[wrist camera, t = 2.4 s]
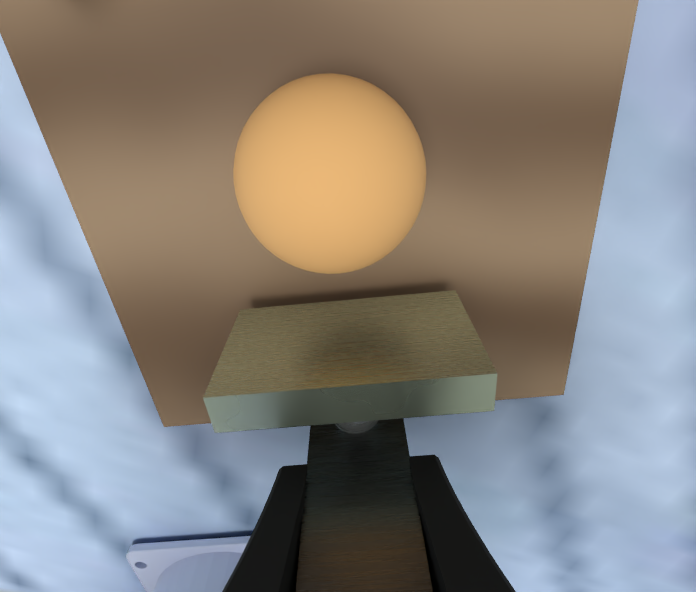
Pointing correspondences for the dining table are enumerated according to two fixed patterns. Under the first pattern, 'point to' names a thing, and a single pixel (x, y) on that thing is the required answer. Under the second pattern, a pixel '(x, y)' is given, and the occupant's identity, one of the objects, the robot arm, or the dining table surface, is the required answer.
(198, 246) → the brown piece
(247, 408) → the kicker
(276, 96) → the ball
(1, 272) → the dining table surface
